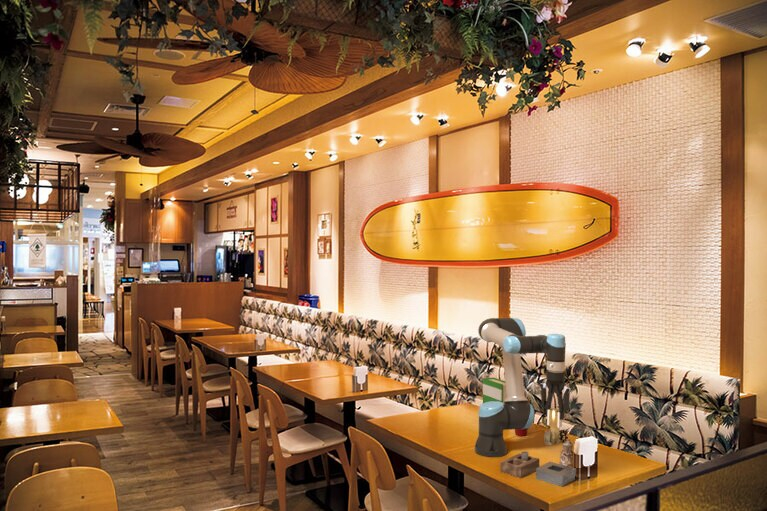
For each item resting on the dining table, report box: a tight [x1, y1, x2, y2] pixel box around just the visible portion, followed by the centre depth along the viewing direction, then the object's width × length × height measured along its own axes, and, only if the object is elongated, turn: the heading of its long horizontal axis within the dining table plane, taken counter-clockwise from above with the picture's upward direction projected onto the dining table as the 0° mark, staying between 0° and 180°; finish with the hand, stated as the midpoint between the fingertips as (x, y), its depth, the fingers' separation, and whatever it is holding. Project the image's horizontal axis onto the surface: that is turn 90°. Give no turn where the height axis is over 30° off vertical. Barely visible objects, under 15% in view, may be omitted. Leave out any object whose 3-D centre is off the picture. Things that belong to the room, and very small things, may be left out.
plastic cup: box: [514, 428, 529, 438], centre depth 314 cm, size 11×11×12 cm
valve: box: [543, 429, 569, 447], centre depth 301 cm, size 7×7×12 cm
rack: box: [499, 450, 540, 479], centre depth 261 cm, size 10×16×7 cm, turn 137°
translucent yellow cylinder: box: [549, 407, 561, 445], centre depth 253 cm, size 4×4×14 cm
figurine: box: [558, 438, 575, 468], centre depth 266 cm, size 7×7×12 cm
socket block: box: [535, 461, 577, 487], centre depth 252 cm, size 12×12×4 cm
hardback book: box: [482, 377, 507, 404], centre depth 336 cm, size 18×7×24 cm, turn 25°
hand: (554, 425), depth 253 cm, fingers closed on translucent yellow cylinder, 4 cm apart
